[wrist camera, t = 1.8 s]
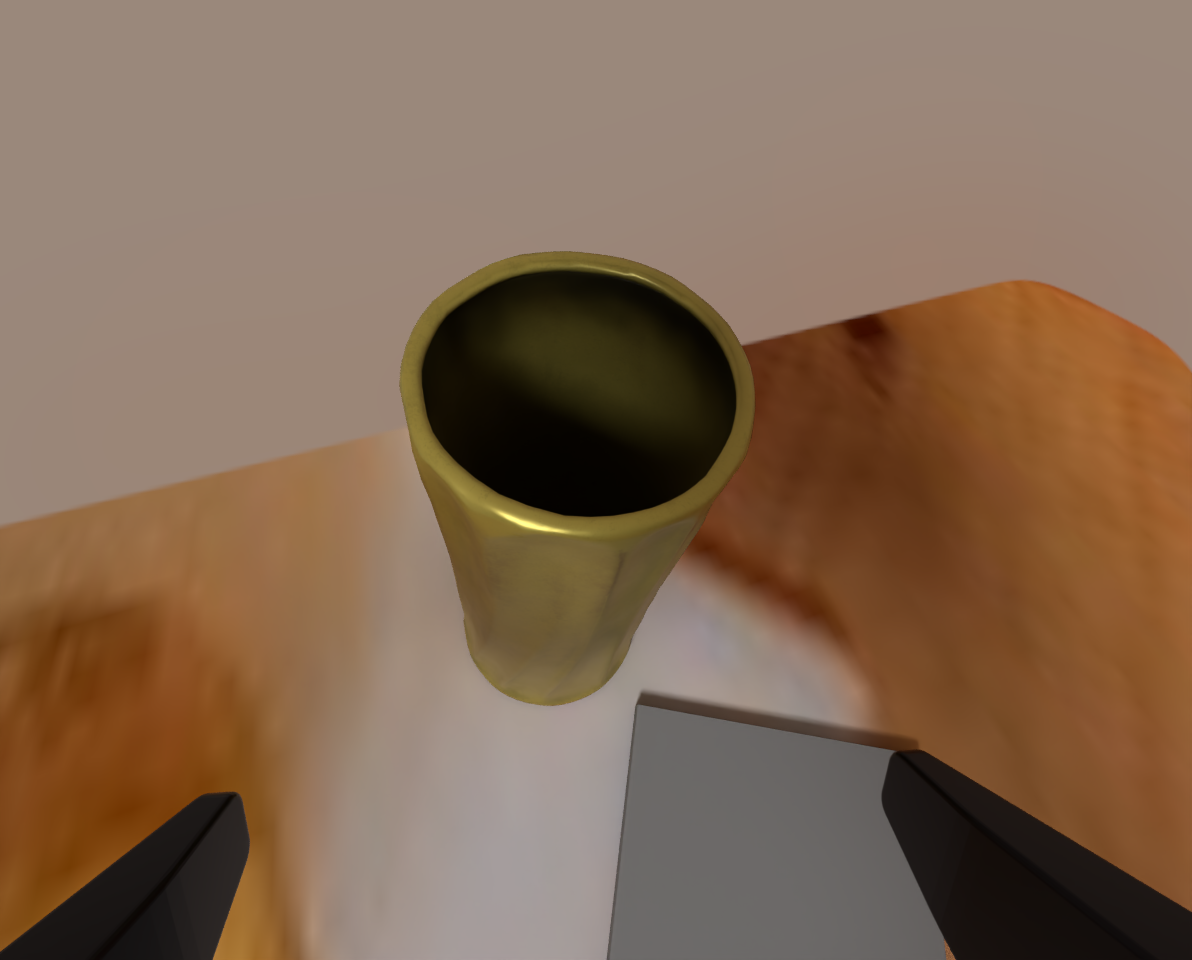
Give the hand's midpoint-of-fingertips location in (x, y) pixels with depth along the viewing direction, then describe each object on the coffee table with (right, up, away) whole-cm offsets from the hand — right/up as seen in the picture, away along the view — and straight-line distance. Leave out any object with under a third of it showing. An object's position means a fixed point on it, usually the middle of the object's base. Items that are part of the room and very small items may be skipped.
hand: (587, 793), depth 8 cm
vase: (-2, -1, +13) cm, 13 cm away
